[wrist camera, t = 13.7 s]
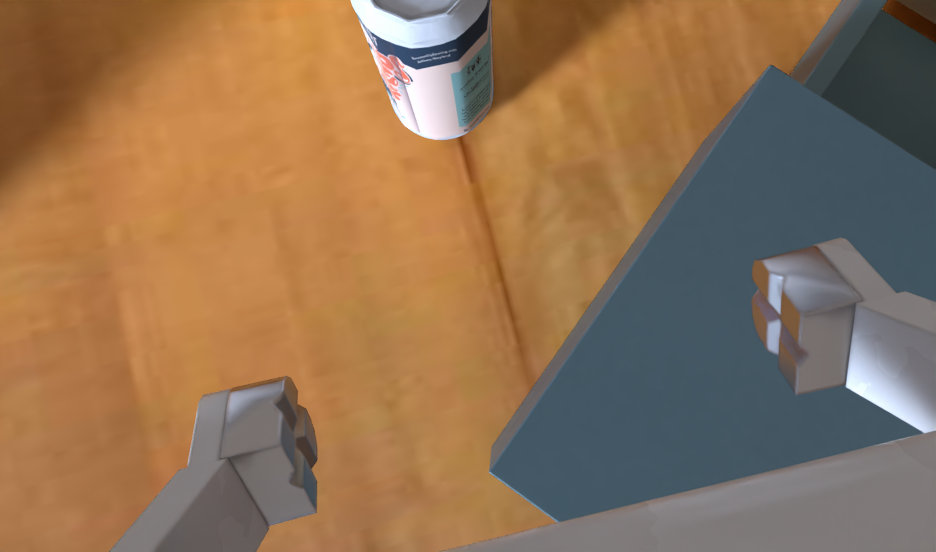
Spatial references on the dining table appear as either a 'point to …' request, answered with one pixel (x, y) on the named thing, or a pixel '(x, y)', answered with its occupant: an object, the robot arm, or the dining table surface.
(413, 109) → the beer can
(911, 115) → the drawer
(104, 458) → the dining table surface
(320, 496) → the dining table surface
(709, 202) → the cabinet
